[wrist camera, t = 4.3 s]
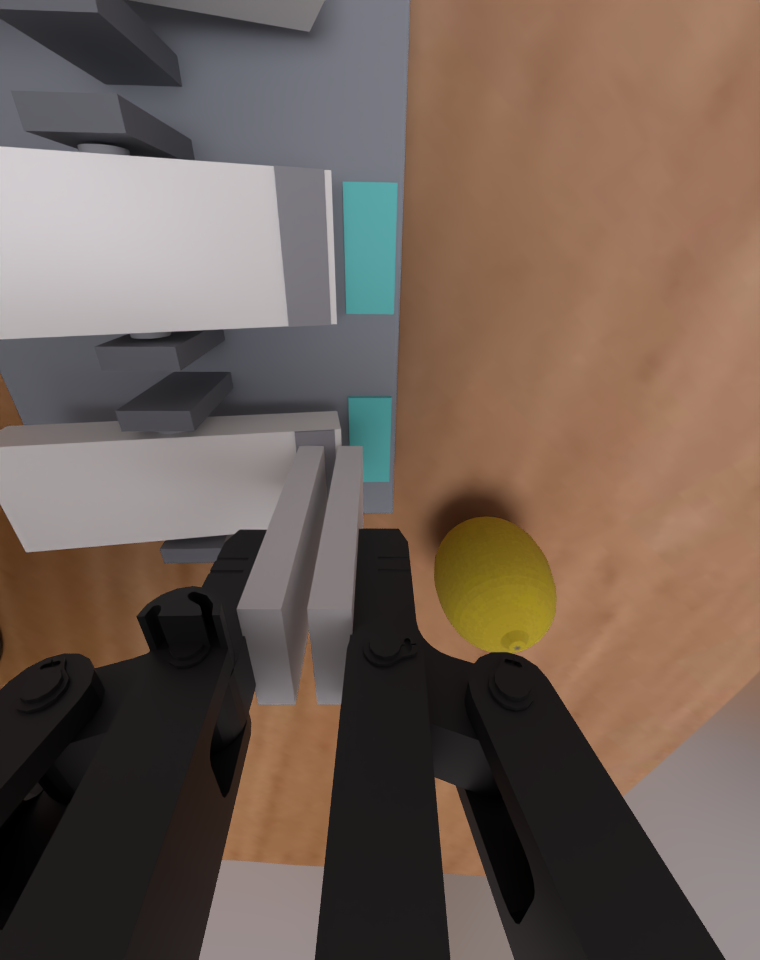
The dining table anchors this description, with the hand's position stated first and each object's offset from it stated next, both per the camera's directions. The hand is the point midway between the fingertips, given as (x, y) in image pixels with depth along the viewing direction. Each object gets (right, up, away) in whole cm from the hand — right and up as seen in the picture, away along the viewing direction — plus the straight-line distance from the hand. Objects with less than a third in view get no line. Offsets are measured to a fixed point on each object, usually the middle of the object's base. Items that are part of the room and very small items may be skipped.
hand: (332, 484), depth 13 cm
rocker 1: (-5, +6, -3) cm, 8 cm away
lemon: (+7, -3, +11) cm, 13 cm away
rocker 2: (-5, 0, 0) cm, 5 cm away
